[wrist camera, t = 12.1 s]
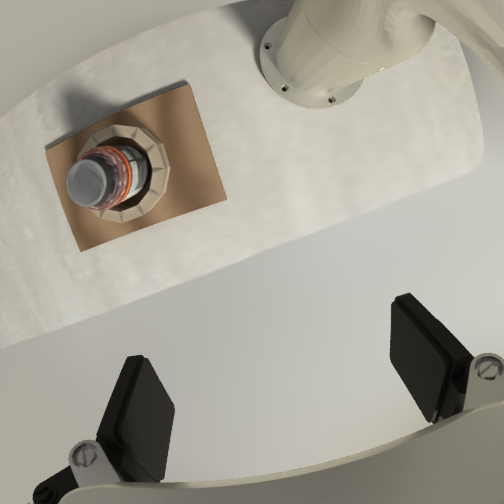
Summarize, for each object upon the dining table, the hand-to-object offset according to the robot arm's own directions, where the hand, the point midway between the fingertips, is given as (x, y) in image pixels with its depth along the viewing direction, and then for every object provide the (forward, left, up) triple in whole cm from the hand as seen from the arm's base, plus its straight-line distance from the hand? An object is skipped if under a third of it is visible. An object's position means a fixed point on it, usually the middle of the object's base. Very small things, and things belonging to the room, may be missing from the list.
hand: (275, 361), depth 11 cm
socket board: (+5, -14, -27) cm, 30 cm away
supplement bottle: (+5, -14, -26) cm, 30 cm away
